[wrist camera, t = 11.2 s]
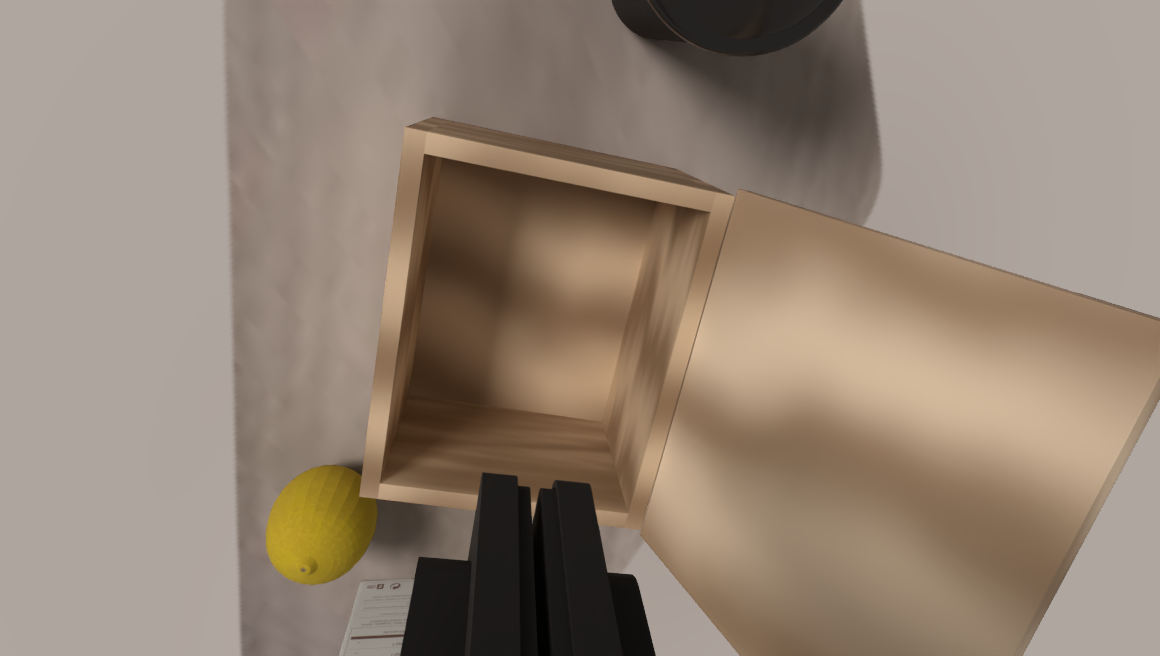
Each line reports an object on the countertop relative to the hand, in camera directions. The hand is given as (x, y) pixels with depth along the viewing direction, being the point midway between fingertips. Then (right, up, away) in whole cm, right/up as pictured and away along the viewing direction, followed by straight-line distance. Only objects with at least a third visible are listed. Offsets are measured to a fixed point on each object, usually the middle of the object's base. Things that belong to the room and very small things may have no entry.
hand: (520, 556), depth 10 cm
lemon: (-14, -6, +30) cm, 33 cm away
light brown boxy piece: (-2, +6, +27) cm, 28 cm away
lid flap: (+9, -1, +13) cm, 16 cm away
